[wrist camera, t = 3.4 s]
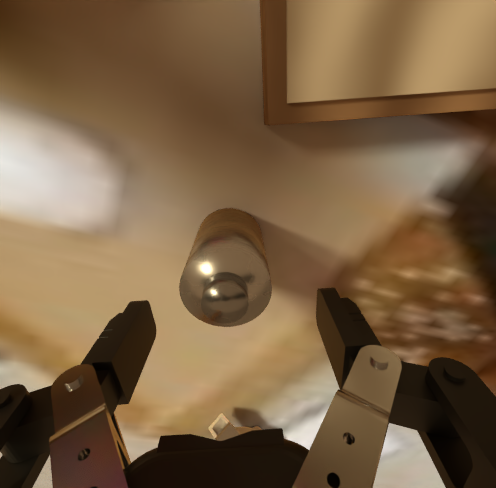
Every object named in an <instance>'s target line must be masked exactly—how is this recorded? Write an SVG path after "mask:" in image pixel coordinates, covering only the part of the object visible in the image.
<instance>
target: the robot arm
mask: <svg viewBox="0 0 496 488" xmlns="http://www.w3.org/2000/svg"><path fill="white" fill-rule="evenodd" d="M316 320H317V326H318V329H319V332H320V335H321V338H322V340H323V343H324V346H325V349H326V352H327V354H328V357H329V360H330V363H331V366H332V368H333V371H334V374H335V377H336V380H337V382H338V385H339V388H340V390H338V391H337V392H336V394H335V396H334V398H333V400H332V402H331V405H330V407H329V409H328V411H327V413H326V415H325V418H324V420H323V422H322V424H321V426H320V428H319V431H318V433H317V435H316V437H315V439H314V441H313V444H312V446H311V448H310V450H308V449H306V448H305V447H303V446H301V445H299V444H298V443H295V442H292V441H290V440H286V439H284V438H283V430H282V429H267V430H252V431H249V432H246V433H243V434H240V435H238V436H235V437H232V438H229V439H226V440H223V441H217V440H213V439H209V438H204V437H200V436H196V435H192V434H185V435H169V436H161V437H160V440H159V444H158V448H155V449H153V450H151V451H148V452H146V453H145V454H143V455H142V456H140V457H138V458H137V459H136V460H134V461H133V462H132V463H131V461H130V458H129V455H128V453H127V450H126V447H125V443H124V440H123V437H122V434H121V431H120V428H119V425H118V422H117V419H116V416H115V414H114V411H115V409H116V407H117V405H121V404H129V402H130V399H131V397H132V394H133V392H134V389H135V387H136V384H137V382H138V380H139V377H140V375H141V372H142V370H143V367H144V365H145V362H146V360H147V357H148V355H149V353H150V350H151V348H152V345H153V343H154V340H155V337H156V325H155V321H154V318H153V314H152V310H151V307H150V304H149V302H148V301H147V300H146V301H132V302H130V303H129V304H128V306H127V307H126V309H125V310H124V312H123V313H119V314H117V315H116V316H115V317H114V318H113V319H111V320H110V321H109V323H108V324H107V326H106V327H105V329H104V331H103V332H102V333H101V335H100V336H99V339H97V341H96V342H95V344H94V345H93V347H92V348H91V350H90V351H89V353H88V354H87V356H86V357H85V359H84V360H83V361H82V363H81V364H80V365H77V366H74V367H72V368H70V369H68V370H67V371H65V372H64V373H62V374H61V375H60V376H59V377H58V378H57V379H56V380H55V382H54V383H53V385H52V386H48V387H45V388H42V389H39V390H36V391H33V392H30V393H29V392H28V391H27V389H26V388H25V386H23V385H20V384H15V385H10V386H7V387H5V388H2V389H0V452H1V453H2V454H3V455H2V457H1V458H0V488H32V487H33V485H34V483H35V481H36V480H37V478H38V476H39V474H40V472H41V470H42V468H43V466H44V464H45V463H46V461H47V459H48V457H49V455H50V458H51V470H52V483H53V488H373V484H374V480H375V476H376V472H377V468H378V464H379V460H380V456H381V452H382V448H383V444H384V440H385V436H386V432H387V429H388V425H389V423H392V424H396V425H399V426H403V427H407V428H411V429H415V430H417V431H418V433H419V435H420V437H421V439H422V441H423V443H424V445H425V447H426V449H427V451H428V453H429V455H430V457H431V459H432V461H433V463H434V465H435V467H436V469H437V471H438V473H439V475H440V477H441V479H442V481H443V483H444V485H445V487H446V488H496V397H495V396H494V394H493V393H492V392H491V391H490V390H489V388H488V387H487V386H486V385H485V384H484V382H483V381H482V380H481V379H480V378H479V377H478V375H477V374H476V373H475V372H474V371H473V370H472V369H470V368H469V367H468V366H466V365H465V364H463V363H461V362H459V361H456V360H454V359H450V358H443V357H440V358H435V359H433V360H431V361H430V363H429V366H428V367H427V366H421V365H416V364H411V363H407V362H403V361H400V359H399V358H398V357H397V355H396V354H394V353H393V352H392V351H391V350H389V349H387V348H385V347H382V346H381V344H380V342H379V341H378V339H377V338H376V336H375V334H374V333H373V331H372V329H371V328H370V326H369V324H368V323H367V321H365V318H364V316H363V315H362V314H361V311H360V310H359V308H358V307H357V305H356V304H355V303H354V302H352V301H351V300H350V299H348V298H340V296H339V295H338V293H337V291H336V289H335V288H321V289H318V290H317V307H316Z"/></svg>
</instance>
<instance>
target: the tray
mask: <svg viewBox="0 0 496 488" xmlns="http://www.w3.org/2000/svg"><path fill="white" fill-rule="evenodd" d="M260 17H261V44H262V72H263V100H264V124H265V125H278V124H292V123H306V122H320V121H334V120H348V119H361V118H375V117H389V116H403V115H417V114H431V113H445V112H458V111H472V110H486V109H496V0H260Z"/></svg>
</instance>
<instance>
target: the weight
mask: <svg viewBox="0 0 496 488" xmlns="http://www.w3.org/2000/svg"><path fill="white" fill-rule="evenodd" d="M179 290H180V296H181V299H182V301H183V304H184V305H185V307H186V308H187V309H188V311H189V312H190V313H191V314H192V315H194V316H195V317H196V318H198V319H199V320H201V321H203V322H205V323H208V324H211V325H215V326H222V327H231V326H237V325H242V324H245V323H247V322H249V321H251V320H253V319H255V318H256V317H257V316H259V315H260V314H261V313H262V312H263V311H264V309H265V308H266V307H267V305H268V303H269V300H270V298H271V292H272V286H271V279H270V274H269V269H268V264H267V259H266V253H265V248H264V243H263V238H262V233H261V229H260V227H259V225H258V223H257V222H256V220H255V219H254V218H253V217H252V216H251V215H249V214H248V213H246V212H244V211H242V210H239V209H233V208H226V209H220V210H217V211H215V212H213V213H211V214H210V215H209V216H207V217H206V218H205V219H204V221H203V222H202V224H201V226H200V228H199V231H198V233H197V236H196V239H195V241H194V244H193V247H192V250H191V252H190V255H189V258H188V260H187V263H186V266H185V268H184V271H183V274H182V276H181V279H180V286H179Z"/></svg>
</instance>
